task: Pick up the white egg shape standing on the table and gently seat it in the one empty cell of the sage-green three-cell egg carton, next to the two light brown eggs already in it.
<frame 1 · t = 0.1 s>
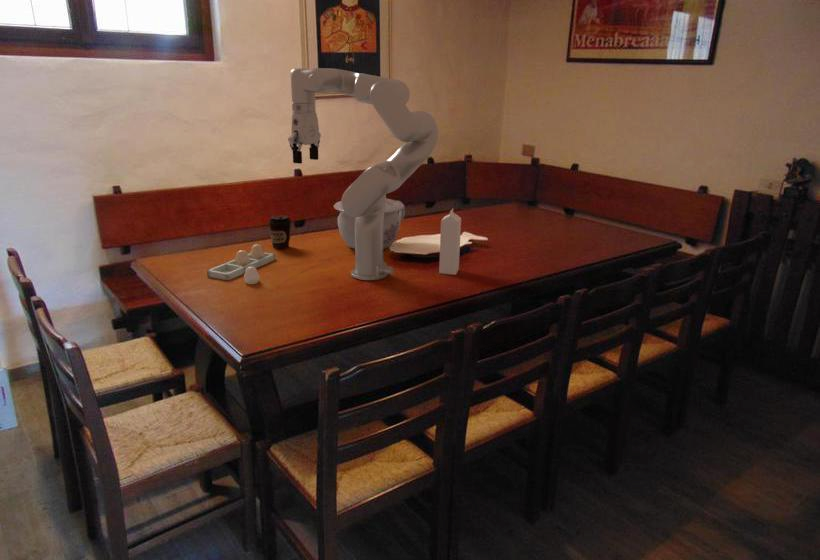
hand: (306, 161, 198), 37 cm above the table, tool pointing down, fingers open, 9 cm apart
milk: (448, 272, 206), on the table
white egg shape: (252, 284, 190), on the table
chamber pot: (370, 247, 233), on the table
egg carton: (243, 270, 203), on the table
brown egg end: (257, 261, 210), point 1 cm above the table, touching egg carton
brown egg middle: (242, 267, 203), point 1 cm above the table, touching egg carton
coffee cup: (281, 250, 227), on the table
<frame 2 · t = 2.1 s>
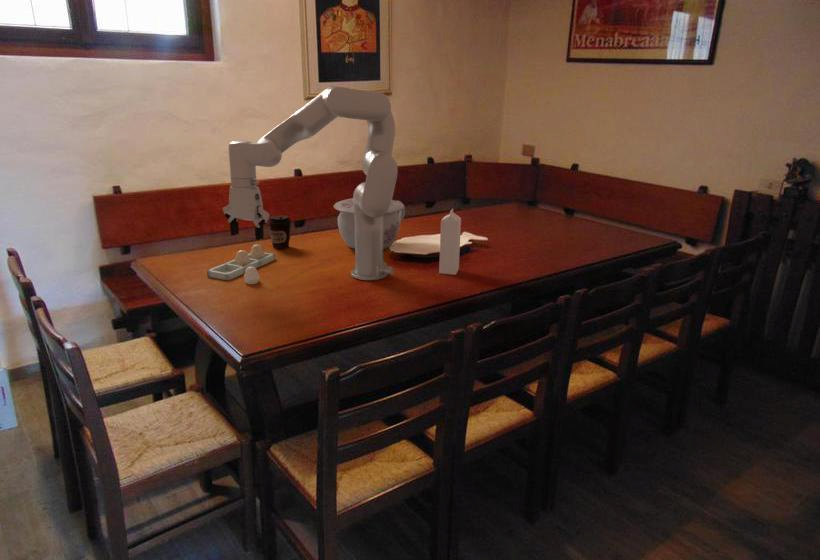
hand: (247, 236, 185), 16 cm above the table, tool pointing down, fingers open, 9 cm apart
nothing on the table moved.
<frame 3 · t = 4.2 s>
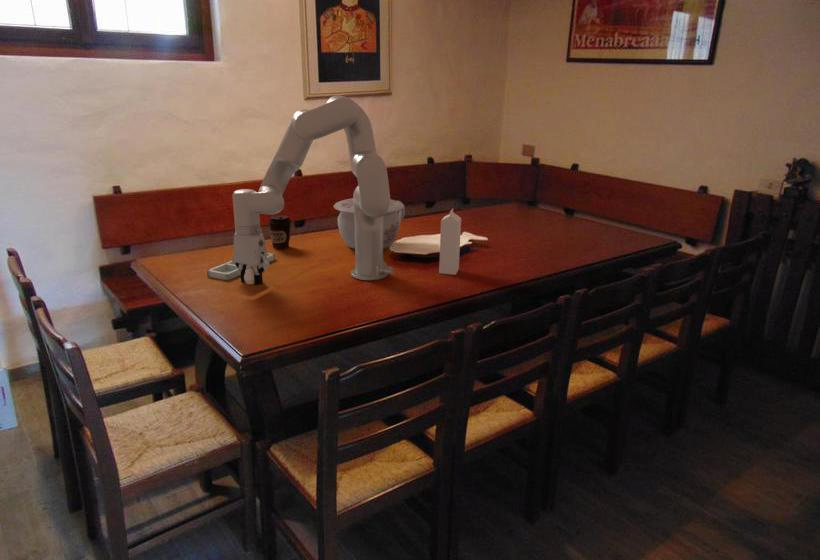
hand: (252, 283, 190), 0 cm above the table, tool pointing down, fingers closed on white egg shape, 4 cm apart
white egg shape: (252, 284, 190), on the table, touching gripper
everything else where it was.
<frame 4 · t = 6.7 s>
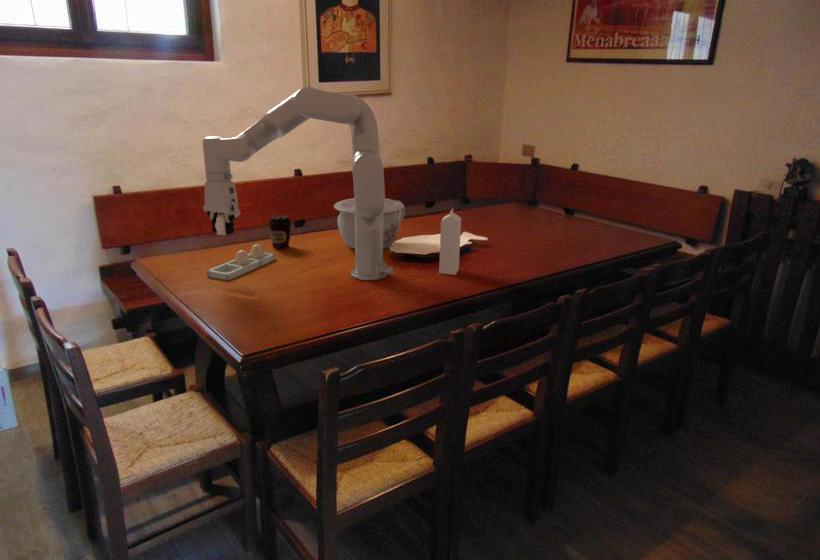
hand: (223, 232, 191), 16 cm above the table, tool pointing down, fingers closed on white egg shape, 4 cm apart
white egg shape: (223, 233, 191), point 15 cm above the table, touching gripper
everything else where it was.
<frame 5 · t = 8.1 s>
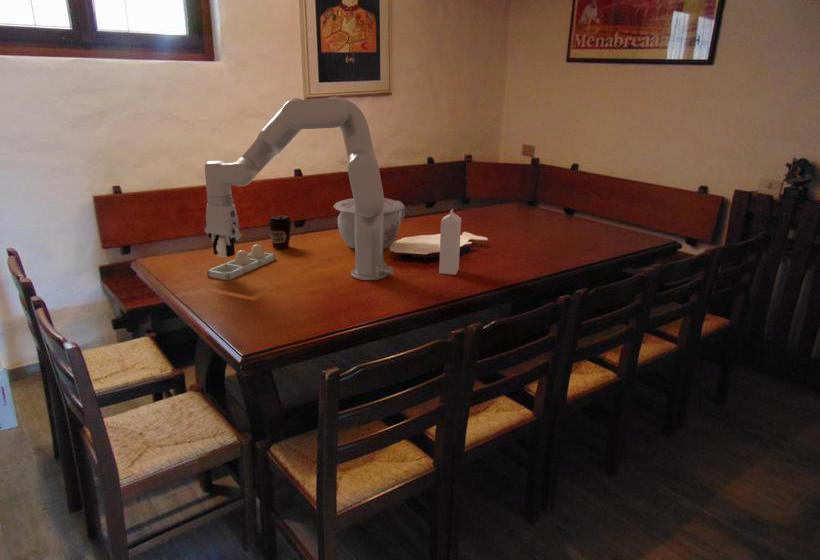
hand: (224, 254, 194), 8 cm above the table, tool pointing down, fingers closed on white egg shape, 4 cm apart
white egg shape: (224, 255, 194), point 8 cm above the table, touching gripper
everything else where it was.
when the fingers open (4 cm above the table, at t = 9.3 s): white egg shape drops 2 cm, resting on egg carton.
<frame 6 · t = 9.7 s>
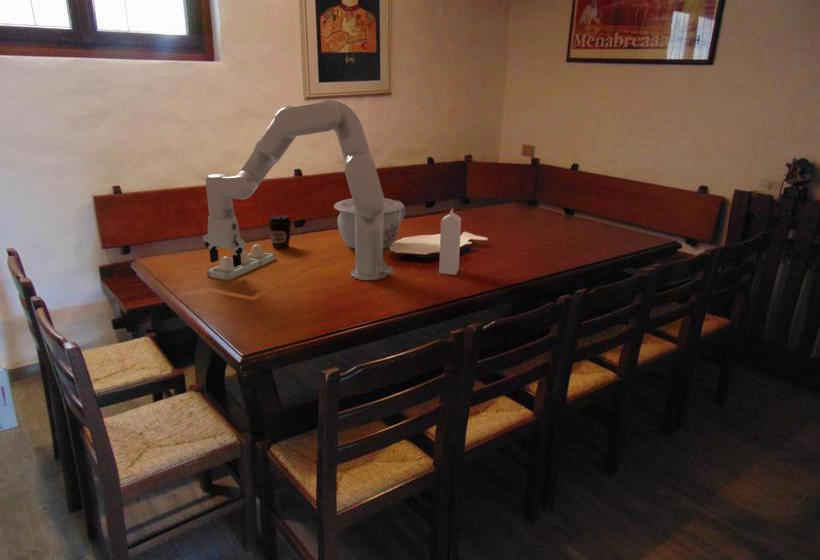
hand: (226, 263, 195), 5 cm above the table, tool pointing down, fingers open, 9 cm apart
white egg shape: (227, 274, 196), point 1 cm above the table, touching egg carton
everything else where it was.
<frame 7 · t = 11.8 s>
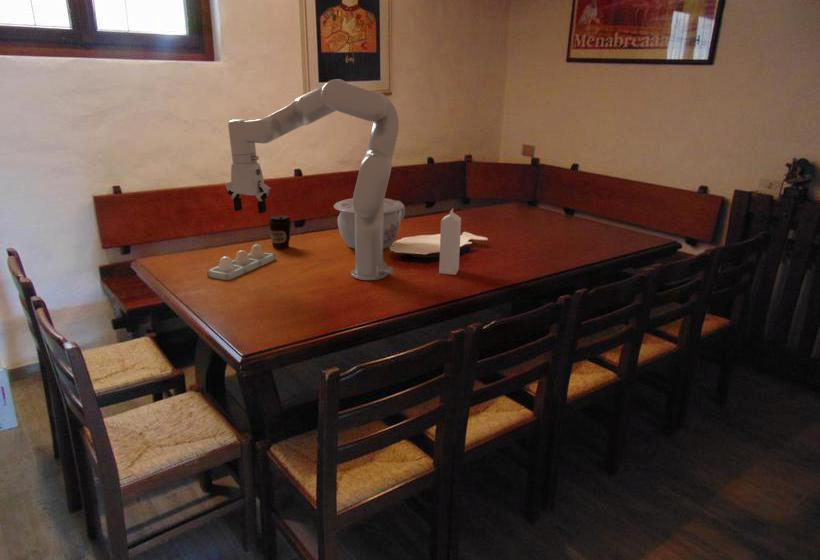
hand: (250, 211, 194), 21 cm above the table, tool pointing down, fingers open, 9 cm apart
nothing on the table moved.
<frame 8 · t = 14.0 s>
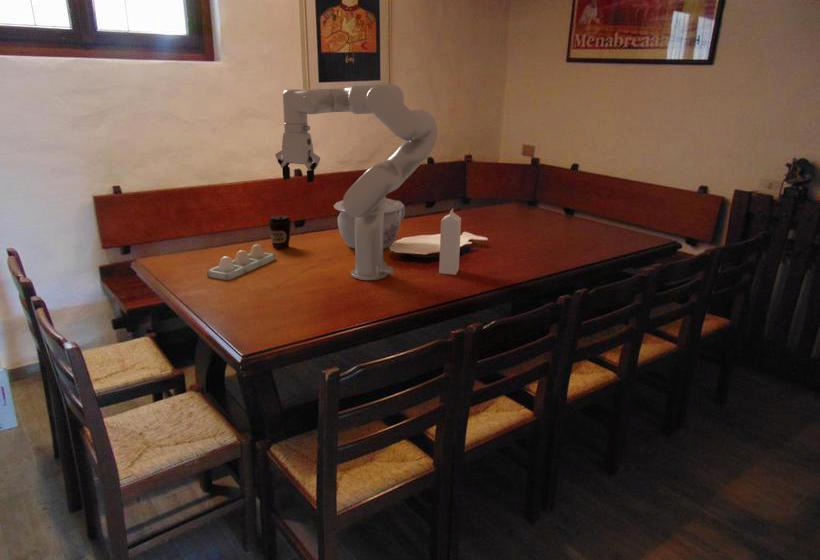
hand: (298, 180, 199), 30 cm above the table, tool pointing down, fingers open, 9 cm apart
nothing on the table moved.
at the end: white egg shape 0.0 cm from the target spot on the egg carton, point 1.0 cm above the egg carton's base; white egg shape tilted 1°; brown egg middle moved 0.1 cm from its start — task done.
